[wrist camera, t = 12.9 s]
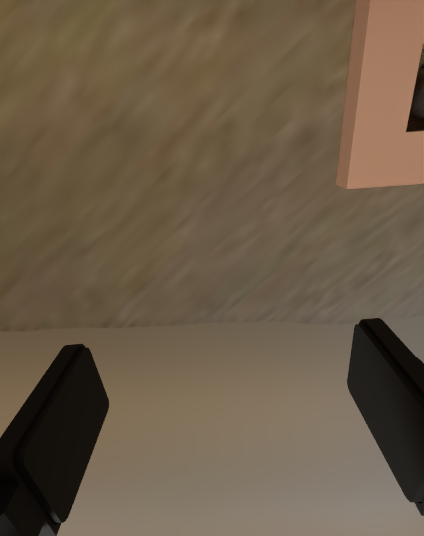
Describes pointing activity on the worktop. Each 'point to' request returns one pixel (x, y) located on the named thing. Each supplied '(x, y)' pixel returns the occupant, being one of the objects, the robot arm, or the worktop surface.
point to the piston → (418, 96)
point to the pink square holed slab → (382, 97)
